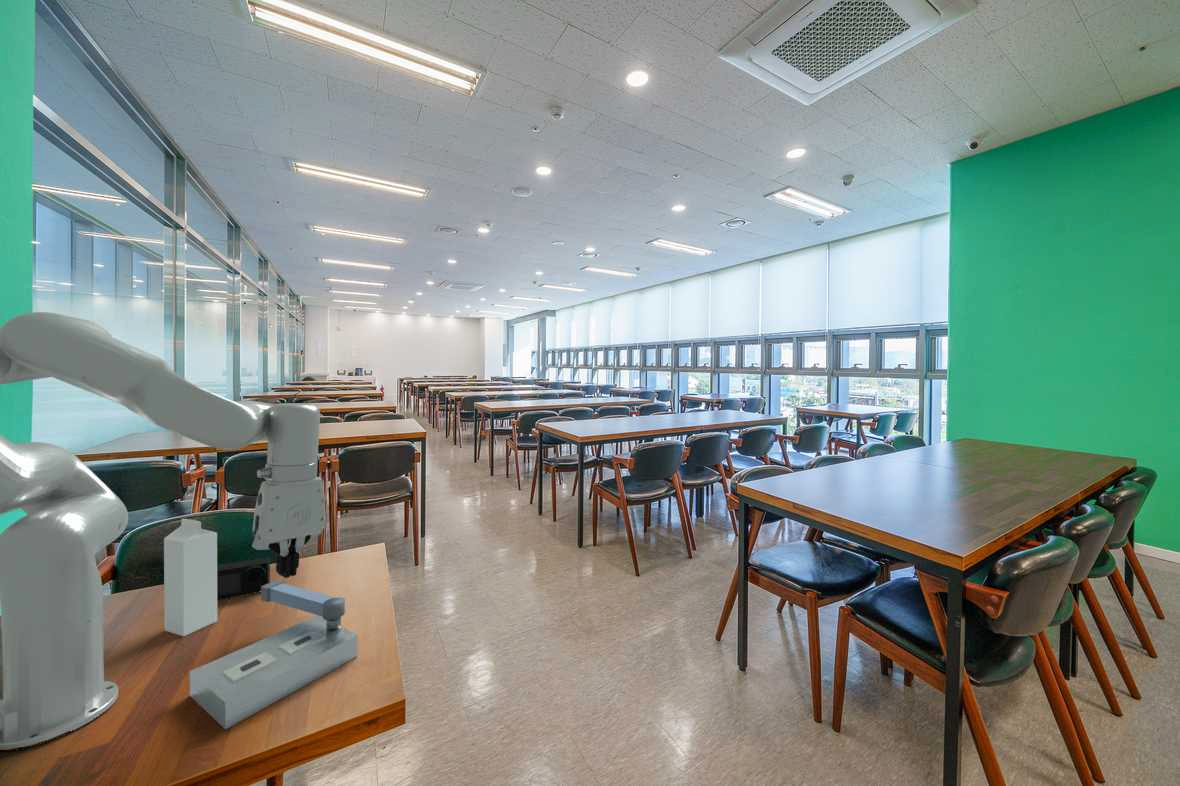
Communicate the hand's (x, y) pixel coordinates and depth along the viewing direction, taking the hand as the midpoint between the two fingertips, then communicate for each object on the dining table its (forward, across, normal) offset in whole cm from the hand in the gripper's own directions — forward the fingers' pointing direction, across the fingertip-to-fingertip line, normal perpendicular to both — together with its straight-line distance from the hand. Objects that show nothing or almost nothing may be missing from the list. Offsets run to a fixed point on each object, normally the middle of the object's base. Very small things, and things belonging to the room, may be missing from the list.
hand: (287, 574), depth 78 cm
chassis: (+16, -2, -2) cm, 17 cm away
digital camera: (+17, +8, +37) cm, 41 cm away
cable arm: (+10, +6, +6) cm, 13 cm away
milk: (+17, -4, +29) cm, 34 cm away
